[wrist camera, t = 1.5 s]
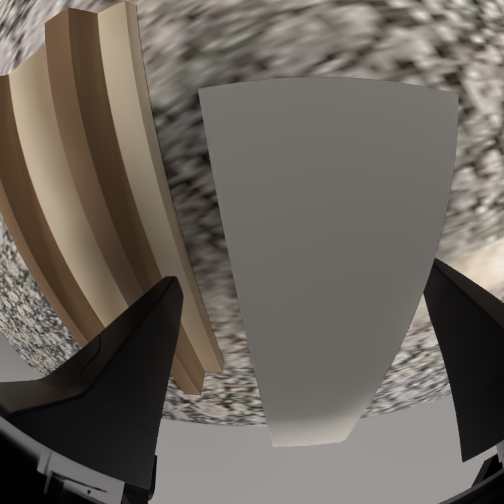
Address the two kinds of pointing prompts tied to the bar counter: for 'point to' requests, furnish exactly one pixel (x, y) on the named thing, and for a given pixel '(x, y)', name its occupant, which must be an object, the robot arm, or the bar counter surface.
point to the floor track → (95, 184)
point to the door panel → (328, 233)
